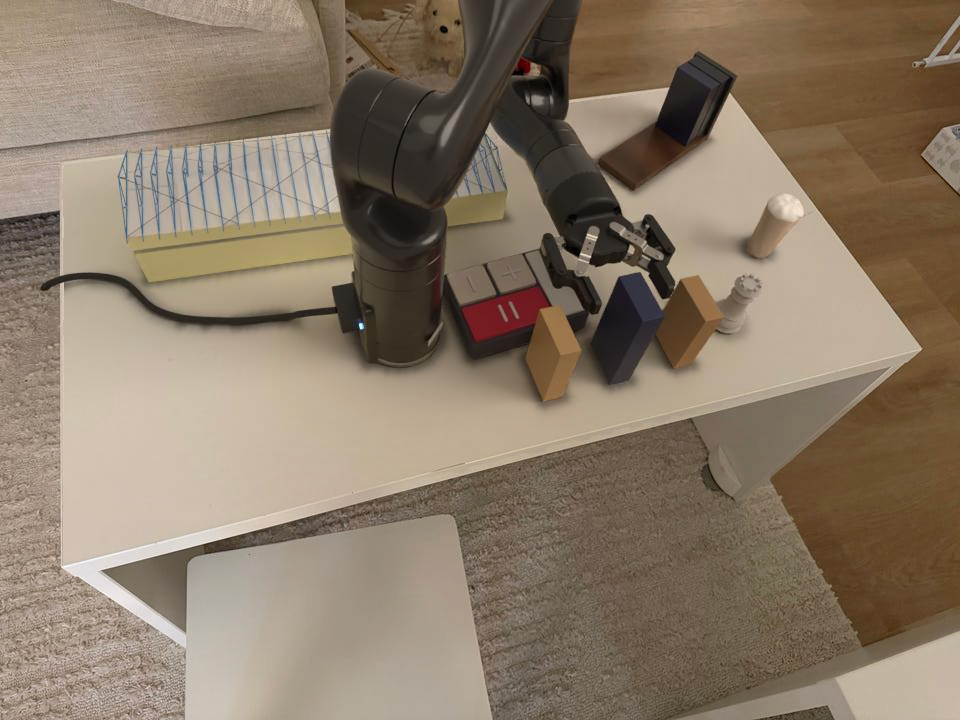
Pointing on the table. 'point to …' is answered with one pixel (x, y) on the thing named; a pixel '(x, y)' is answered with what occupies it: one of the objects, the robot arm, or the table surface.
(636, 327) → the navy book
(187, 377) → the table surface
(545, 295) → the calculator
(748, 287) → the rook chess piece
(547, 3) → the robot arm
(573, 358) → the tan blocks
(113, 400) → the table surface
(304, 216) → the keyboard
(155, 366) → the table surface
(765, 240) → the milkshake
